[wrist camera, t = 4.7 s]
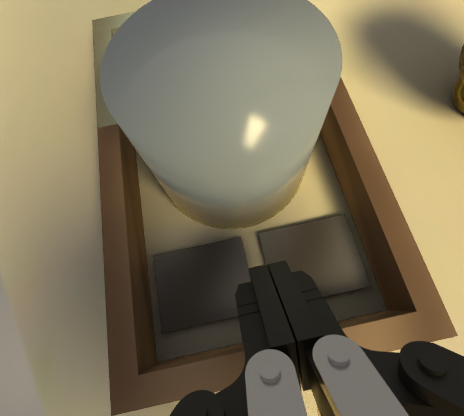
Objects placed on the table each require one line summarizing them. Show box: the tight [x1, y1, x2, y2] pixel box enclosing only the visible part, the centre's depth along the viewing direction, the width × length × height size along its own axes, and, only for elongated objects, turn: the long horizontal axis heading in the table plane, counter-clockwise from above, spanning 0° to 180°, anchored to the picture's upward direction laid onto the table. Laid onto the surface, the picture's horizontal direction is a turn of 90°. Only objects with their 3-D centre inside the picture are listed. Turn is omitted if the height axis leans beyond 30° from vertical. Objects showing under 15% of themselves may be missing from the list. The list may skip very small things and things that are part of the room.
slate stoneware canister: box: [100, 0, 342, 229], centre depth 14 cm, size 9×9×8 cm
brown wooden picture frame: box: [92, 12, 458, 416], centre depth 16 cm, size 14×23×2 cm, turn 12°
